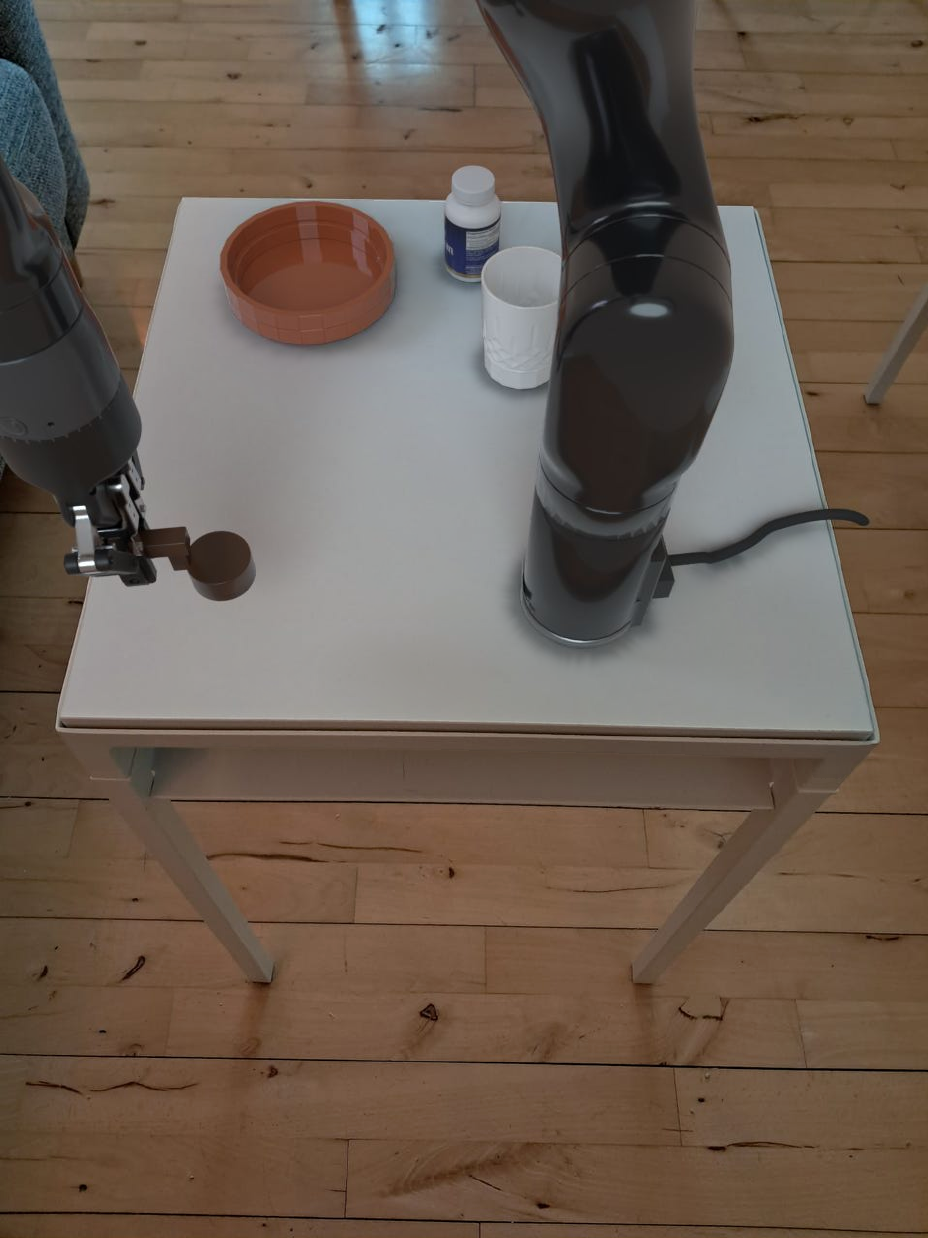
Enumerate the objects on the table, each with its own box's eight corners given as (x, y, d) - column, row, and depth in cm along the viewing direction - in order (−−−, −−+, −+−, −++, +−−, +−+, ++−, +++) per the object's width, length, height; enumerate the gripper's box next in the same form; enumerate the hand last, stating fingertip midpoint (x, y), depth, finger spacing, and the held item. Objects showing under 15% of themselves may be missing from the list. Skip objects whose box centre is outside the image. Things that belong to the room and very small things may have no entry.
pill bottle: (437, 253, 96) (436, 165, 87) (488, 244, 96) (491, 155, 88) (453, 288, 93) (454, 200, 85) (505, 278, 94) (510, 190, 85)
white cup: (576, 381, 87) (590, 294, 78) (497, 404, 85) (503, 318, 77) (541, 325, 90) (551, 236, 82) (465, 346, 89) (467, 257, 80)
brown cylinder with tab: (256, 546, 67) (243, 502, 62) (256, 598, 64) (243, 557, 60) (122, 557, 66) (99, 514, 62) (117, 611, 64) (94, 570, 59)
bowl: (389, 230, 97) (387, 196, 94) (401, 342, 89) (400, 309, 86) (229, 240, 96) (221, 205, 93) (227, 354, 88) (218, 321, 84)
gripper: (108, 476, 45) (196, 649, 60) (126, 285, 52) (201, 483, 67) (-52, 491, 45) (77, 662, 60) (-12, 296, 52) (94, 493, 67)
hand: (142, 566), depth 63 cm, fingers closed on brown cylinder with tab, 1 cm apart
